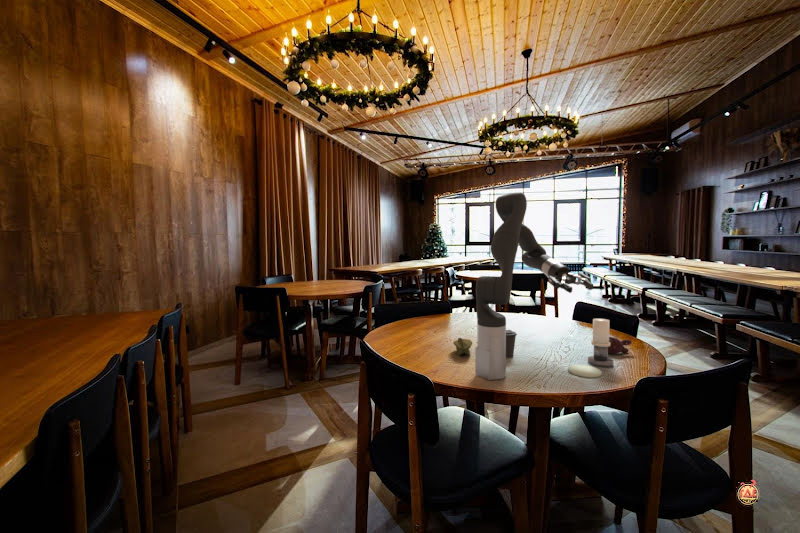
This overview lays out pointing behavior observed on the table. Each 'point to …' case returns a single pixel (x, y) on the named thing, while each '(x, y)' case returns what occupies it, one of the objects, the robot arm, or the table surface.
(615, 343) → the brown turtle figurine
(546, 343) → the table surface
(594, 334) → the cream white cylinder
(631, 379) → the table surface
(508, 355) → the coffee cup
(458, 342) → the fruit
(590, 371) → the coaster
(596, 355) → the dark grey stepped piece
